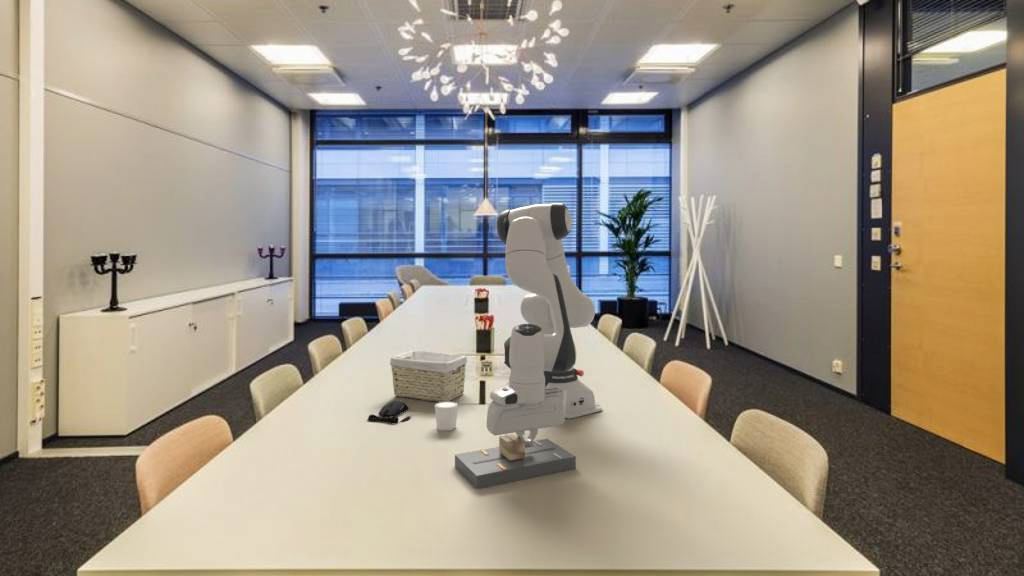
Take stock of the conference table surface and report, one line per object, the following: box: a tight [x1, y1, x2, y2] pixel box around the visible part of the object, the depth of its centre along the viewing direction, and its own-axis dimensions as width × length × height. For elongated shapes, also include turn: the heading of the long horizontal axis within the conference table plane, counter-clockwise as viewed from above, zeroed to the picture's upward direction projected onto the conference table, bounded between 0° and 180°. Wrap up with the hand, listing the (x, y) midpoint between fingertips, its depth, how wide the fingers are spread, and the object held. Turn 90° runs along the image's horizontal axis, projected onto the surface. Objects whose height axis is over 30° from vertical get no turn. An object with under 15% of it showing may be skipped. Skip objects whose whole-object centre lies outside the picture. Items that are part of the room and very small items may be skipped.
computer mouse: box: [367, 399, 412, 424], centre depth 176 cm, size 12×17×4 cm
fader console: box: [454, 438, 577, 490], centre depth 135 cm, size 26×14×3 cm, turn 116°
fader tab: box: [498, 433, 525, 460], centre depth 134 cm, size 4×6×4 cm, turn 26°
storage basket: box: [389, 349, 468, 403], centre depth 199 cm, size 24×16×15 cm
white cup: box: [434, 401, 459, 431], centre depth 164 cm, size 7×7×7 cm
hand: (526, 446), depth 136 cm, fingers closed
